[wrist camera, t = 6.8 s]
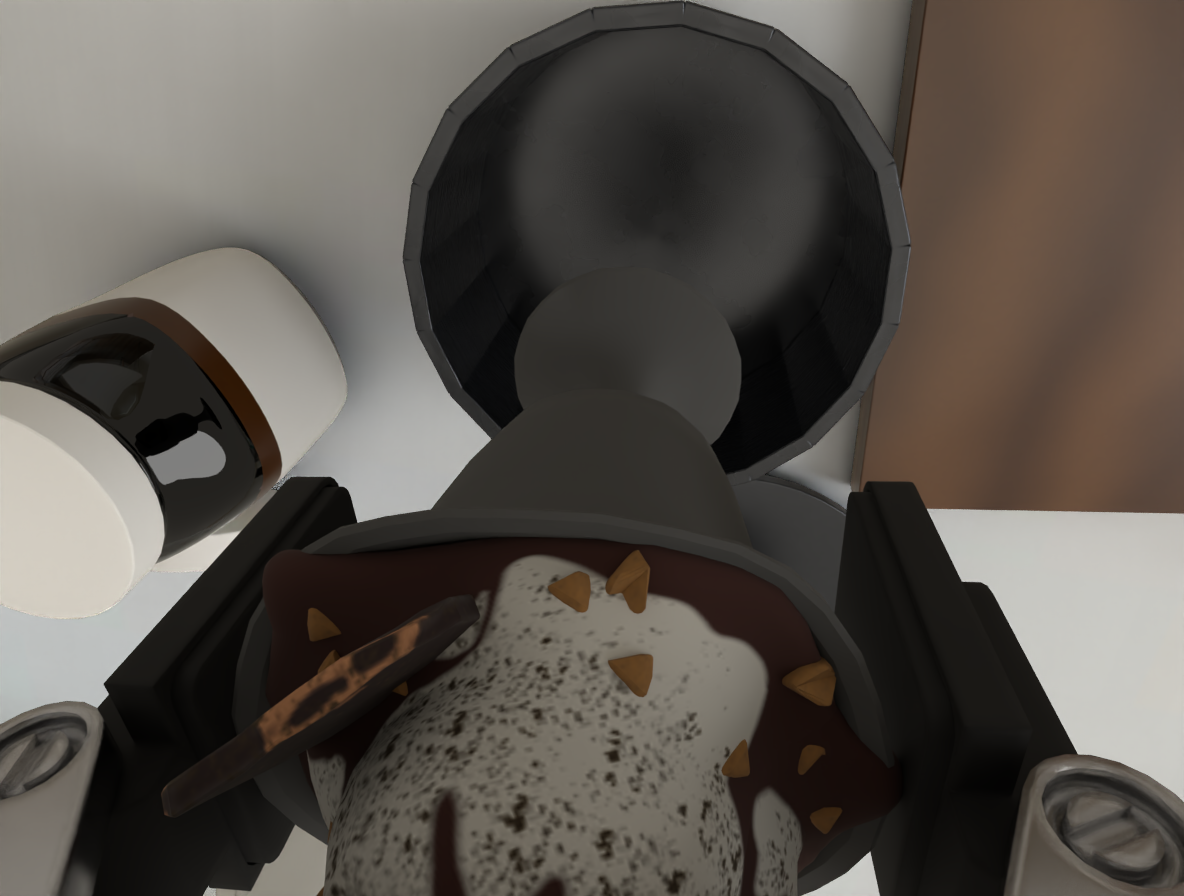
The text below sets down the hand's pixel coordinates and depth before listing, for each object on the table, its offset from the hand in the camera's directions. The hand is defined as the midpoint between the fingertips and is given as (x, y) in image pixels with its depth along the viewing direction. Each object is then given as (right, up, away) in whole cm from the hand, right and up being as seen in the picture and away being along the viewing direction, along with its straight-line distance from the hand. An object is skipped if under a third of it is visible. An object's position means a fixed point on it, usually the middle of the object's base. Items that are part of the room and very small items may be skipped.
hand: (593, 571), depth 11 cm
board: (+15, +9, +13) cm, 22 cm away
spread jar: (-14, +4, +20) cm, 25 cm away
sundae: (+1, +3, +6) cm, 7 cm away
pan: (+2, +9, +15) cm, 17 cm away
